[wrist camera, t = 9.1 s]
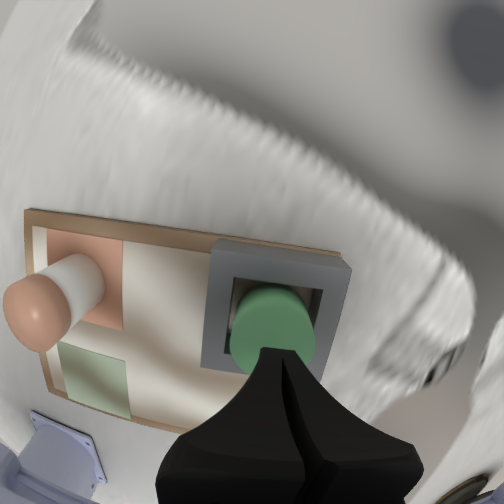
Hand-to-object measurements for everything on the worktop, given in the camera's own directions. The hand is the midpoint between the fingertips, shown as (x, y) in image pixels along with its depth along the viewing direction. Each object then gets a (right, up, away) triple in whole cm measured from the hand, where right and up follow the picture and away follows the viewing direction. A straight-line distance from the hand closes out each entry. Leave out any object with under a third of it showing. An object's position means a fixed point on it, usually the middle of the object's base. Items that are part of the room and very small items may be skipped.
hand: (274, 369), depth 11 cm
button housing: (0, +2, +7) cm, 7 cm away
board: (-7, -2, +8) cm, 11 cm away
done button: (0, +1, +5) cm, 5 cm away
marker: (-12, +3, +6) cm, 13 cm away
